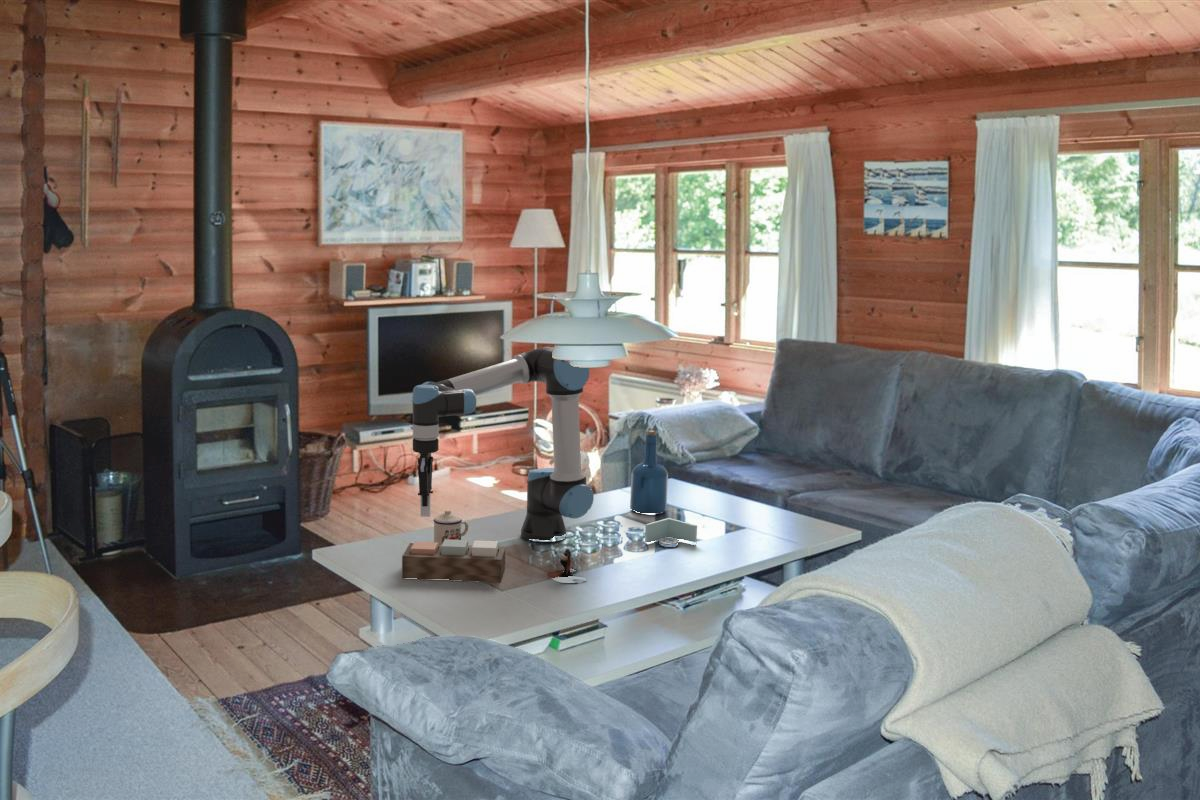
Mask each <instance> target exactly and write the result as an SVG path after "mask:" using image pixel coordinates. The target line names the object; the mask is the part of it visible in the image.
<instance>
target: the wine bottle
mask: <svg viewBox="0 0 1200 800" xmlns="http://www.w3.org/2000/svg"><path fill="white" fill-rule="evenodd" d="M657 438H658V437H657V434H656V431H655V430H651V429H650V430H647V434H646V436H645V440H644V441H645V442H644V444H645V446H644V447H645V448H644V459H643V462H640V463H638V464H637V465H635V466H634V467H633V469H632V471H631V474H630V475H631V480H630V500H629V501H630V503H629V507H630V510H631V509H632V510H635V511H637V512H640V513H661V512H664V511H665V510H666V511H667V508H668V507H667V504H668V486H669V485H668V482H669V481H668V480H669V472H668V470H667V468H666V467H665V465H664V464H663V463H662V462H660V461H658V460H657V444H658V439H657ZM632 510H631V511H632ZM666 511H665V512H666ZM665 512H664V513H665Z"/></svg>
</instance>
